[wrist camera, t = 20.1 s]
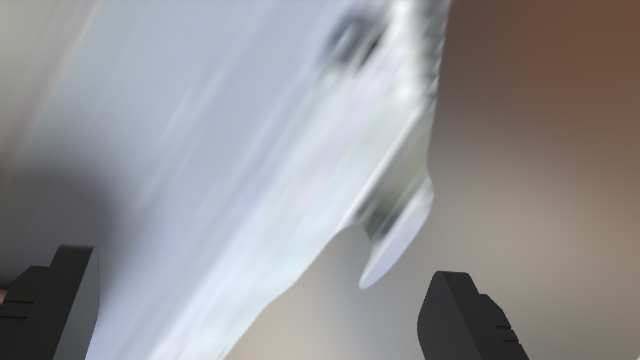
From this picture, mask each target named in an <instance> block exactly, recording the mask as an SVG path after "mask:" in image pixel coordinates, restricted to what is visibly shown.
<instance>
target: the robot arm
mask: <svg viewBox="0 0 640 360" xmlns="http://www.w3.org/2000/svg"><path fill="white" fill-rule="evenodd" d="M98 307H99V274H98V250H97V247H96V246H82V245H67V244H61V245H60V246H59V248H58V249H57V252H56V254H55V256H54V258H53V261H52V263H51V265H50V267H43V266H31V267H29V268H28V269H27V270H26V271H25V272H23V273H22V274H21V275H20V276H19V277H17V278H16V279H15V280H14V281H13V282H12V284H11V286H10V288H9V289H8V291H7V293H6V295H5V297H4V299H3V303H2V304H1V305H0V360H85V357H86V354H87V350H88V347H89V344H90V341H91V337H92V334H93V331H94V328H95V324H96V320H97V314H98ZM417 333H418V339H419V343H420V345H421V348H422V351H423V354H424V357H425V360H529V358H528V356H527V354H526V353H525V351H524V349H523V347H522V345H521V344H519V342H518V338H517V336H516V335H515V332H514V331H513V330H511V325H510V323H509V321H508V319H507V318H506V316H505V314H504V312H503V310H502V309H501V308H500V307H499V306H498V305H497V304H496V303H495V302H494V301H493V300H492V299H491V298H490V297H489V296H488V295H487V294H479V293H478V291H477V288H476V286H475V285H474V283H473V281H472V279H471V277H470V275H469V274H468V273H465V272H450V271H437V272H435V274H434V275H433V277H432V280H431V283H430V286H429V288H428V291H427V294H426V296H425V299H424V302H423V305H422V307H421V310H420V313H419V316H418V322H417Z"/></svg>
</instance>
